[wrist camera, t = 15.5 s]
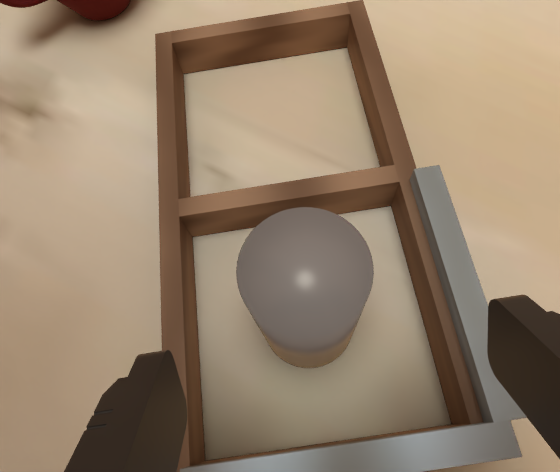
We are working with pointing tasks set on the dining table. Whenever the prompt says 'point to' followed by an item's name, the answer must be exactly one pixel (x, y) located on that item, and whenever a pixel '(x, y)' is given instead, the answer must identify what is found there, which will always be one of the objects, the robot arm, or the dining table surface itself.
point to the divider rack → (337, 199)
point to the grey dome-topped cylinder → (305, 283)
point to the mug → (81, 7)
